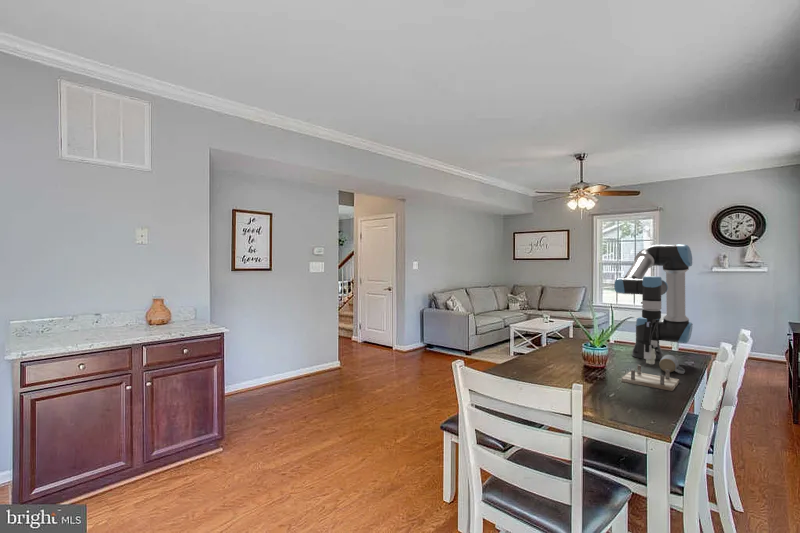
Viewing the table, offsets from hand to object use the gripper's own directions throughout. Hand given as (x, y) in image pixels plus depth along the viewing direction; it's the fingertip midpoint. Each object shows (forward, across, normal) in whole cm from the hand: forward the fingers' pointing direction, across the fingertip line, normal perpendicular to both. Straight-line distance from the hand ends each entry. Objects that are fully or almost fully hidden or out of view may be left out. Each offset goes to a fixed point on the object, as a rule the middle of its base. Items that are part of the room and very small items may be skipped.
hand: (650, 356), depth 190 cm
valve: (+2, 0, 0) cm, 2 cm away
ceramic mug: (+12, -27, +4) cm, 30 cm away
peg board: (+12, 0, 0) cm, 12 cm away
